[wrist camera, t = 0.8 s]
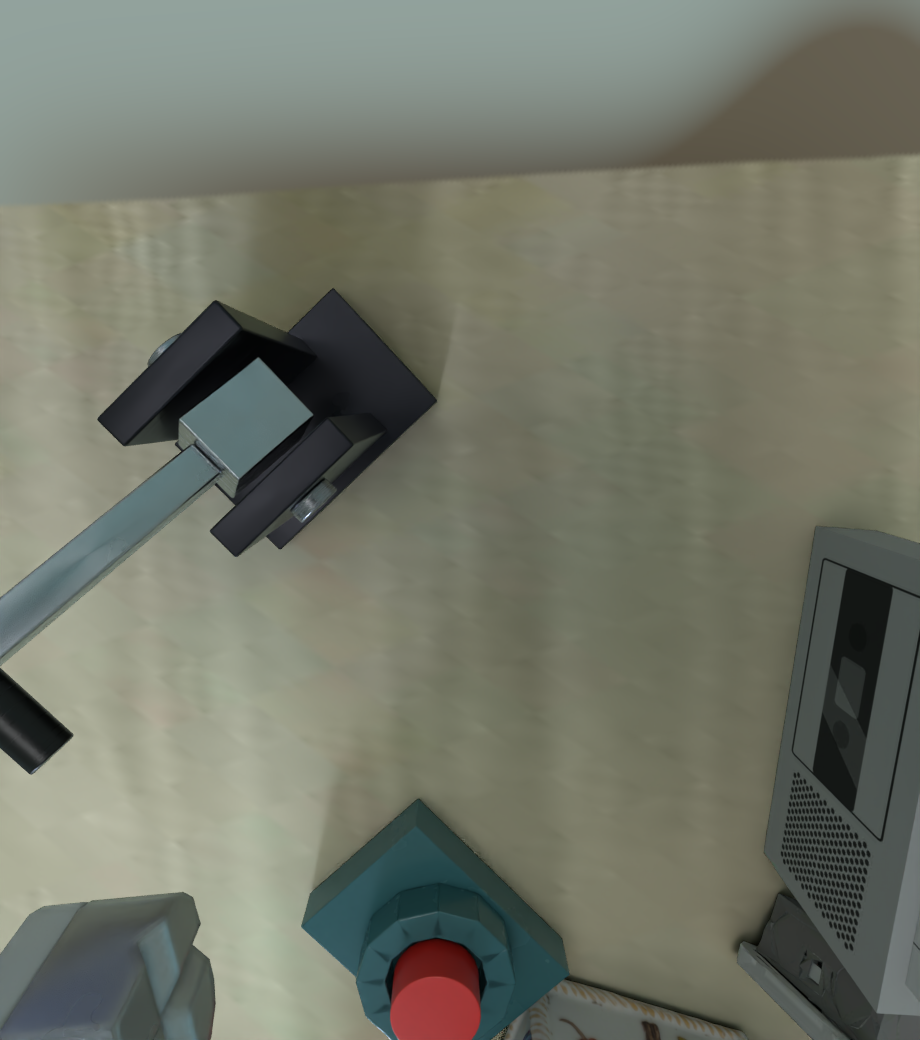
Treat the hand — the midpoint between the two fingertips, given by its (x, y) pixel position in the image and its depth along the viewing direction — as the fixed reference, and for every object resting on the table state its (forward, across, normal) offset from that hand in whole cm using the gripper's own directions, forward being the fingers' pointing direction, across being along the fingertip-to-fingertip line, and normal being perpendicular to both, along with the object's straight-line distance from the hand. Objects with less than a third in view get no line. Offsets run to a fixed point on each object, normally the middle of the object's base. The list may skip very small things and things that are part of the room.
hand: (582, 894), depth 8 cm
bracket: (+24, +7, -3) cm, 25 cm away
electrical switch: (+22, -15, +24) cm, 36 cm away
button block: (+22, +4, +20) cm, 30 cm away
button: (+18, +4, +20) cm, 28 cm away
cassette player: (+23, -14, +12) cm, 30 cm away
